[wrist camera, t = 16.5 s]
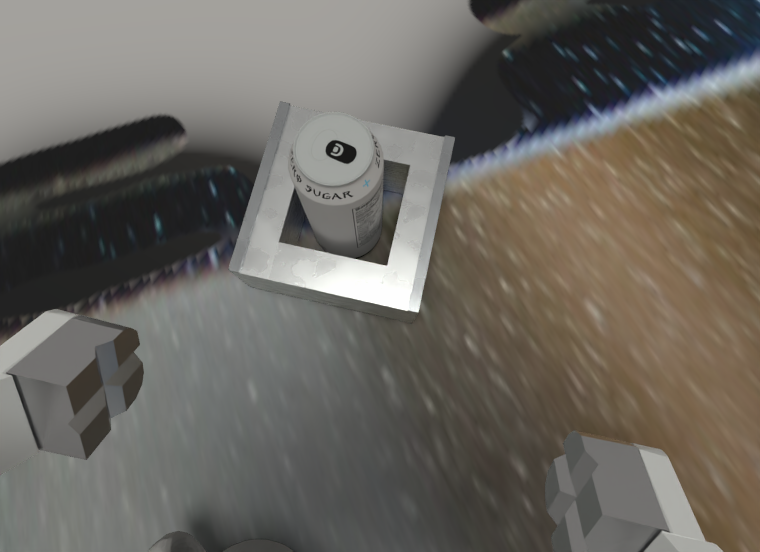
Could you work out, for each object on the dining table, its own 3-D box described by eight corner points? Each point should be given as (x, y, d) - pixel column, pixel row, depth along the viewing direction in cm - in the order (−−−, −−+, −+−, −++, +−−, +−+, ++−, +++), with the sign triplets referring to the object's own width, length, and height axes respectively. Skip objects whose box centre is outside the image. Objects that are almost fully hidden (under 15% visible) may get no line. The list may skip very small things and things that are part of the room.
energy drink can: (332, 188, 43) (310, 88, 29) (392, 213, 43) (400, 125, 28) (303, 245, 42) (265, 171, 28) (365, 272, 42) (358, 211, 27)
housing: (444, 172, 44) (455, 137, 38) (412, 323, 41) (418, 312, 34) (293, 140, 44) (280, 101, 38) (250, 287, 41) (228, 269, 35)
